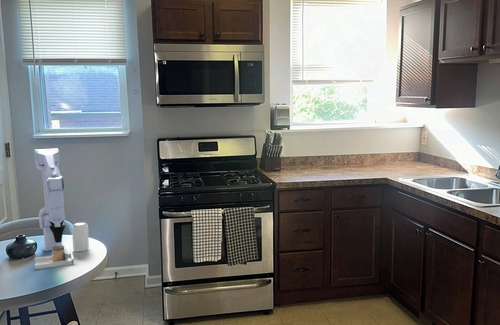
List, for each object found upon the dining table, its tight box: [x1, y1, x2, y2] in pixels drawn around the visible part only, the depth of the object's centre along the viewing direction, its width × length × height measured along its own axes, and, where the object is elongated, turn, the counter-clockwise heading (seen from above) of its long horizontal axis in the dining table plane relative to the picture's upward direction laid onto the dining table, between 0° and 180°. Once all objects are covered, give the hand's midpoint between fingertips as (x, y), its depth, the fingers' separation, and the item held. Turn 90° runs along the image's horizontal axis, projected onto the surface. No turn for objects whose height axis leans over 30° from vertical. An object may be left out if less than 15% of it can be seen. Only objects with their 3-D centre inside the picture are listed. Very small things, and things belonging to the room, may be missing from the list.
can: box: [71, 221, 90, 253], centre depth 191 cm, size 6×6×12 cm
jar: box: [51, 245, 65, 262], centre depth 177 cm, size 4×4×6 cm
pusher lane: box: [34, 251, 74, 270], centre depth 176 cm, size 9×14×2 cm, turn 115°
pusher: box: [64, 248, 69, 260], centre depth 178 cm, size 6×1×4 cm, turn 25°
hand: (58, 239), depth 176 cm, fingers open, 7 cm apart
